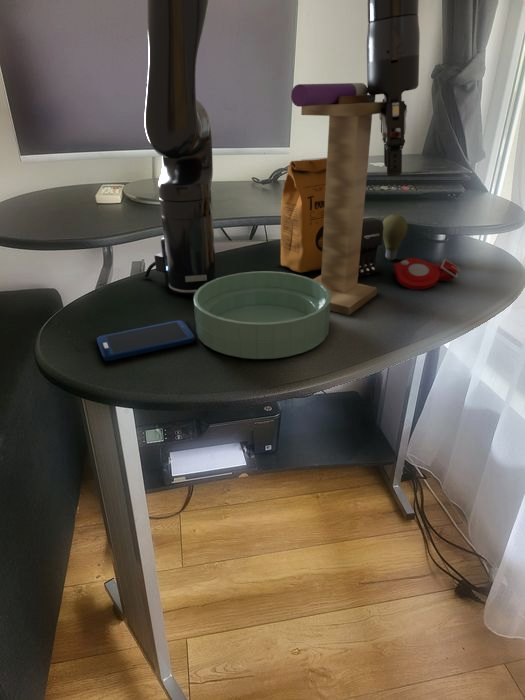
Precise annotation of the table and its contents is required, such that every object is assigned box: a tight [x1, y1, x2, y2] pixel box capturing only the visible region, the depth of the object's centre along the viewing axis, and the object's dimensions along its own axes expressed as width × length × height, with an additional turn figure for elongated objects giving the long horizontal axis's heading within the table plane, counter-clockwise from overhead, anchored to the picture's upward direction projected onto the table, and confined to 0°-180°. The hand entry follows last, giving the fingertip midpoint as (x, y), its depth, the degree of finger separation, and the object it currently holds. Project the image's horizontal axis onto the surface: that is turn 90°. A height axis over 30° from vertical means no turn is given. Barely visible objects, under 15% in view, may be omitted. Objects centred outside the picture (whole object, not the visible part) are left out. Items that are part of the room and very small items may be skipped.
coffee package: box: [280, 157, 327, 274], centre depth 98 cm, size 10×12×22 cm
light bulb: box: [382, 213, 409, 262], centre depth 104 cm, size 6×6×10 cm
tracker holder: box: [393, 257, 461, 290], centre depth 95 cm, size 12×4×10 cm
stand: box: [300, 94, 385, 316], centre depth 81 cm, size 12×11×33 cm
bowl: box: [192, 270, 331, 360], centre depth 76 cm, size 21×21×6 cm
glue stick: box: [290, 82, 369, 108], centre depth 69 cm, size 18×3×3 cm, turn 144°
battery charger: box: [358, 216, 384, 278], centre depth 96 cm, size 7×4×11 cm, turn 116°
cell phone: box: [96, 319, 196, 362], centre depth 74 cm, size 7×14×1 cm, turn 115°
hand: (392, 170), depth 79 cm, fingers open, 8 cm apart
